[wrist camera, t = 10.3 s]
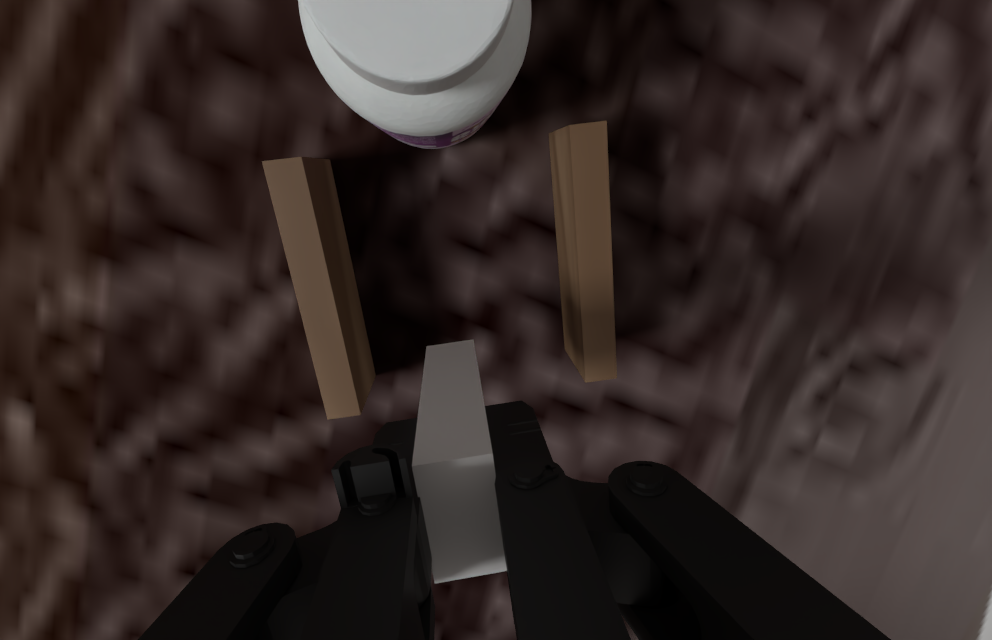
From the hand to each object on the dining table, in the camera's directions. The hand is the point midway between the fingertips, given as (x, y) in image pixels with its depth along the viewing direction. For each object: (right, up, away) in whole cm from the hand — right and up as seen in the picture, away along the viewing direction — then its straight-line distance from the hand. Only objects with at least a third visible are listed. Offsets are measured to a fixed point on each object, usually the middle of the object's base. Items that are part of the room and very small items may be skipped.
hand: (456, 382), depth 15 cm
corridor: (0, +4, +4) cm, 6 cm away
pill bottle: (-1, +11, +2) cm, 11 cm away
